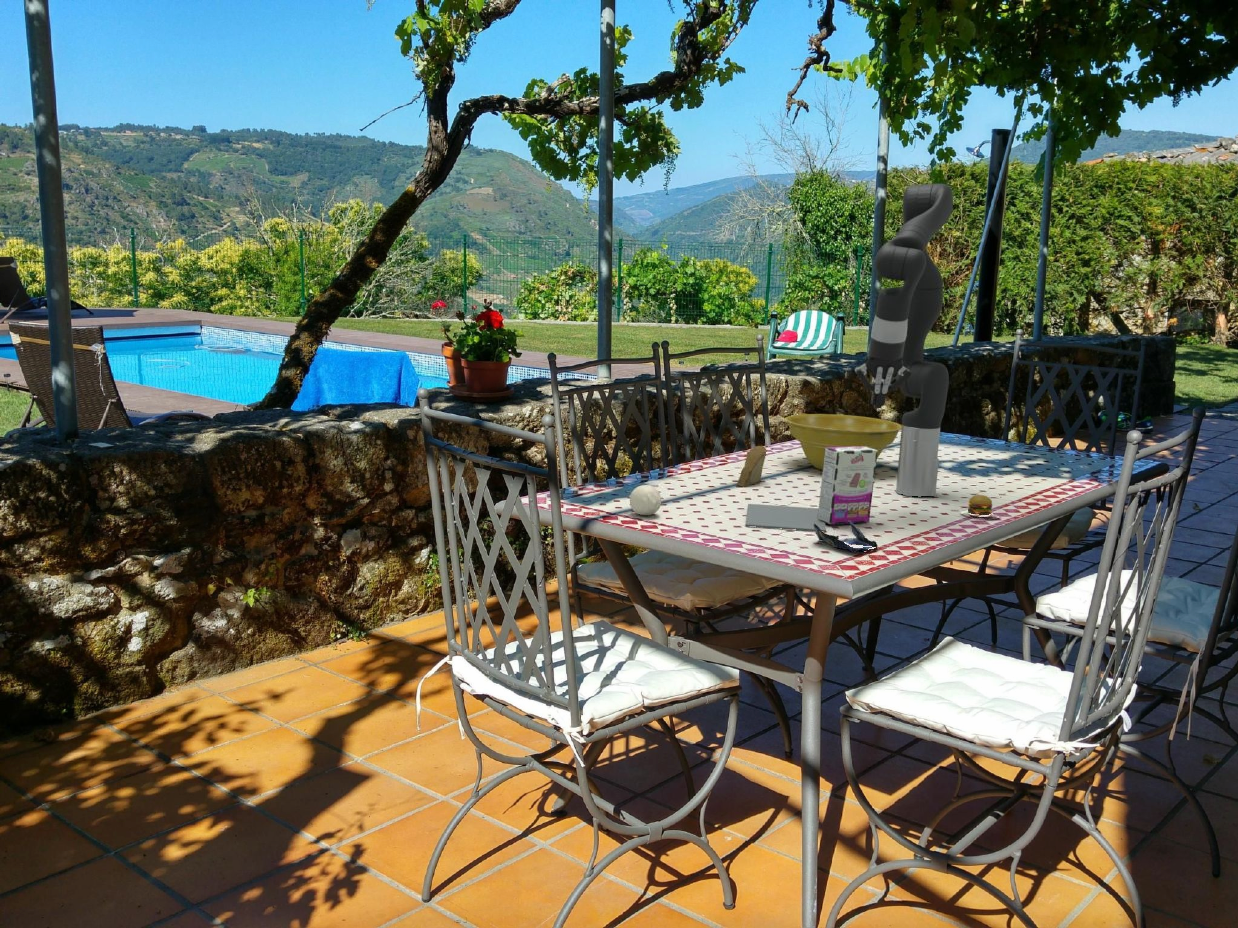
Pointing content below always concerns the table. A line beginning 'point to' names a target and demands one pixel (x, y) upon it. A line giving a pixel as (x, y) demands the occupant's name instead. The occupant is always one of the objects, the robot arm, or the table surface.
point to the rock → (752, 466)
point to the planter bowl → (839, 433)
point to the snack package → (847, 539)
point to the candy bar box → (847, 484)
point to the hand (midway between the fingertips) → (876, 406)
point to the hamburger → (980, 505)
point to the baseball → (645, 500)
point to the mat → (783, 517)
